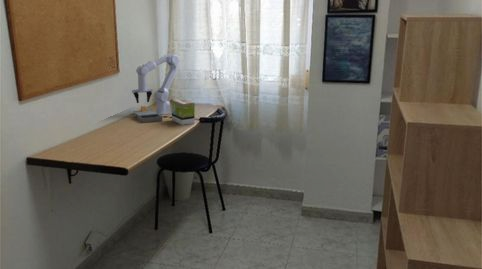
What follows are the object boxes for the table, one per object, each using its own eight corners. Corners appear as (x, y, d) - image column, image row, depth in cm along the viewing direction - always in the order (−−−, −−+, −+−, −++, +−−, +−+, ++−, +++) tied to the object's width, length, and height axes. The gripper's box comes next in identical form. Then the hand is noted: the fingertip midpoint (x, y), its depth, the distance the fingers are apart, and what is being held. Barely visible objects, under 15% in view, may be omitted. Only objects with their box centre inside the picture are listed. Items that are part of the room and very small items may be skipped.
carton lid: (152, 110, 324) (152, 105, 323) (158, 114, 314) (158, 108, 313) (133, 112, 317) (133, 106, 316) (138, 116, 307) (138, 110, 306)
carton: (156, 117, 318) (156, 113, 317) (162, 121, 308) (162, 116, 307) (136, 119, 311) (136, 114, 310) (142, 123, 301) (142, 118, 300)
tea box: (171, 120, 311) (171, 99, 307) (183, 118, 317) (183, 98, 313) (182, 125, 299) (182, 103, 295) (195, 123, 305) (195, 102, 301)
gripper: (134, 84, 308) (134, 104, 312) (154, 83, 316) (154, 102, 319) (130, 83, 314) (131, 102, 318) (150, 82, 321) (151, 100, 325)
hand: (142, 102), depth 319 cm, fingers open, 7 cm apart
